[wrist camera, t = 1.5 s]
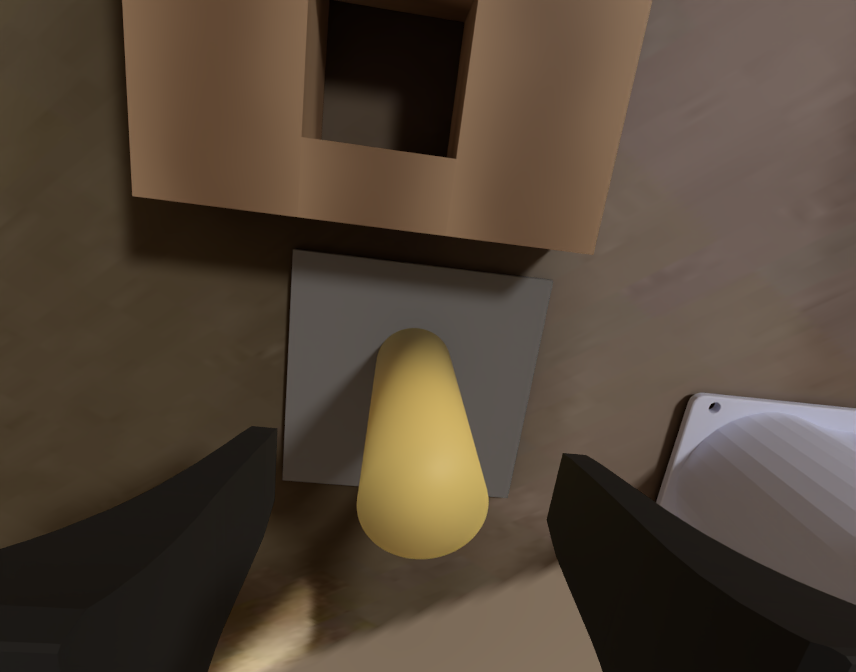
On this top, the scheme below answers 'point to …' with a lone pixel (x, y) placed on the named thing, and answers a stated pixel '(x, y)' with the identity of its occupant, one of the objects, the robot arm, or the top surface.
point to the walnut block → (375, 167)
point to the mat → (376, 321)
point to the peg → (419, 453)
